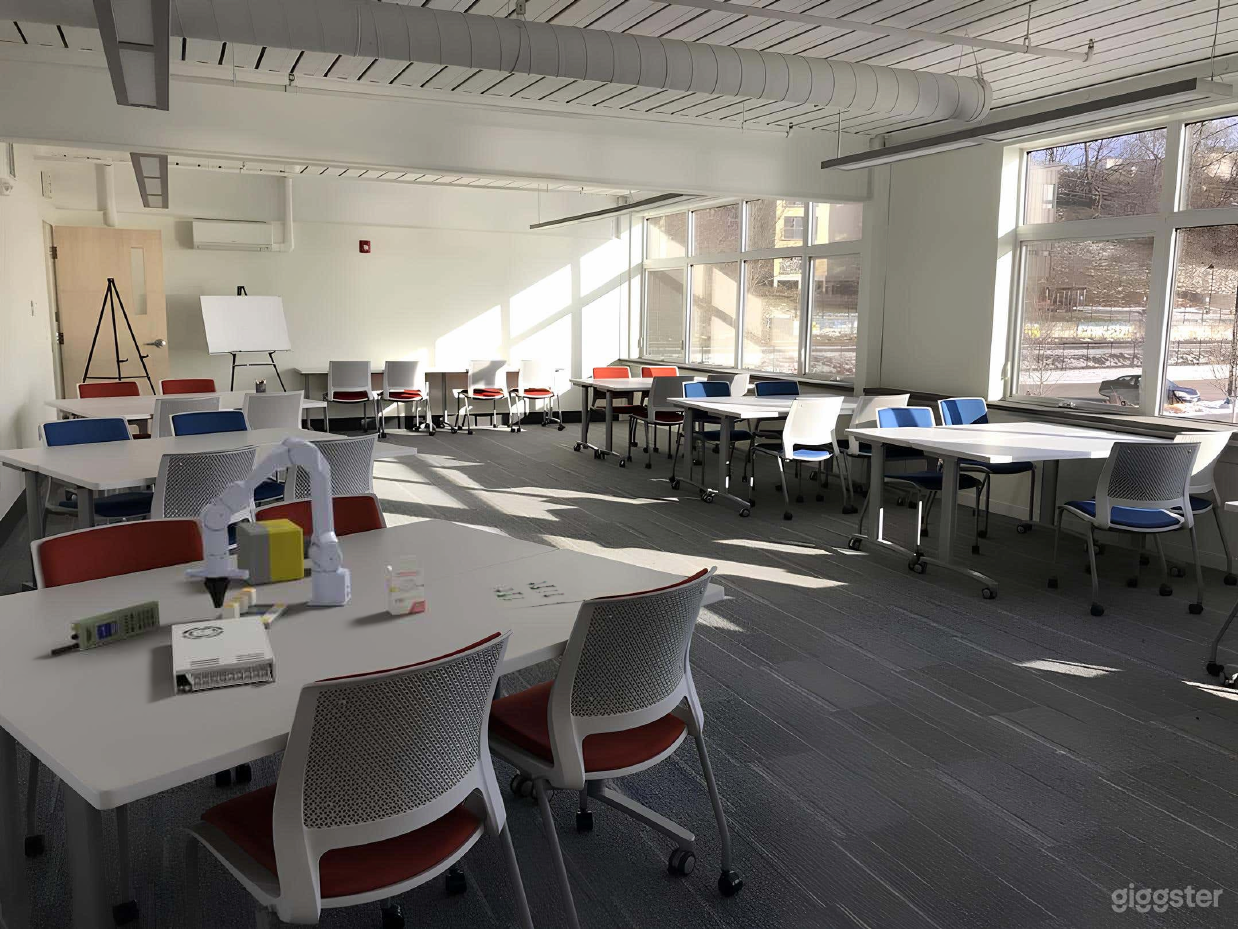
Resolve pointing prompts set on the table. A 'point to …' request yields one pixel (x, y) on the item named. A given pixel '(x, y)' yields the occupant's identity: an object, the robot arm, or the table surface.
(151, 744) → the table surface
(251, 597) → the switch far
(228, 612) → the switch near
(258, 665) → the power supply unit
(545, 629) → the table surface
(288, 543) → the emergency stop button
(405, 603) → the ink cartridge box
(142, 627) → the handheld radio
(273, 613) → the switch unit
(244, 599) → the switch mid
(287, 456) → the robot arm
